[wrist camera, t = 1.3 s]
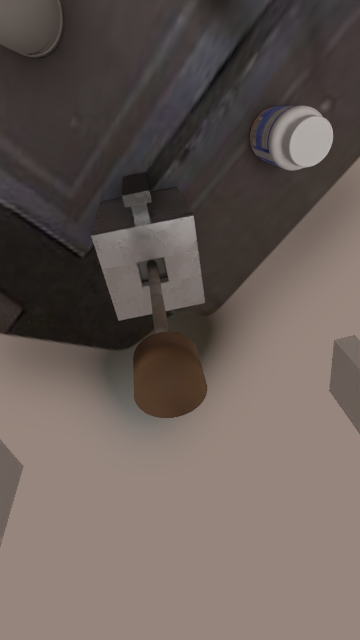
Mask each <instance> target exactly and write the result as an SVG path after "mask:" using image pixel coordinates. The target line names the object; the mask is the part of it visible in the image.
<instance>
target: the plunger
mask: <svg viewBox="0 0 360 640" xmlns="http://www.w3.org/2000/svg"><path fill="white" fill-rule="evenodd" d="M137 264H138V268H139V272H140V276H141V280H142V282H147V281H149V288H150V296H151V305H152V313H153V322H154V330H155V334H153V335H151V336H149V337H147V338H146V339H144V340H143V341H142V342H141V343H140V344H139V345H138V346H137V348H136V350H135V352H134V357H133V361H134V398H135V402H136V404H137V405H138V407H139V408H140V409H141V410H143V411H144V412H145V413H147V414H149V415H151V416H155V417H160V418H173V417H178V416H182V415H184V414H187V413H189V412H191V411H193V410H194V409H195V408H197V407H198V406H199V405H200V404H201V403H202V402H203V400H204V398H205V396H206V393H207V384H206V380H205V377H204V374H203V370H202V366H201V363H200V359H199V355H198V352H197V348H196V346H195V344H194V343H193V341H192V340H191V339H189V338H188V337H187V336H184V335H183V334H180V333H176V332H169V328H168V322H167V317H166V311H165V306H164V300H163V295H162V289H161V284H160V279H161V278H166V277H168V275H167V270H166V265H165V260H164V257H161V258H156V259H151V260H146V261H141V262H137Z"/></svg>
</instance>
